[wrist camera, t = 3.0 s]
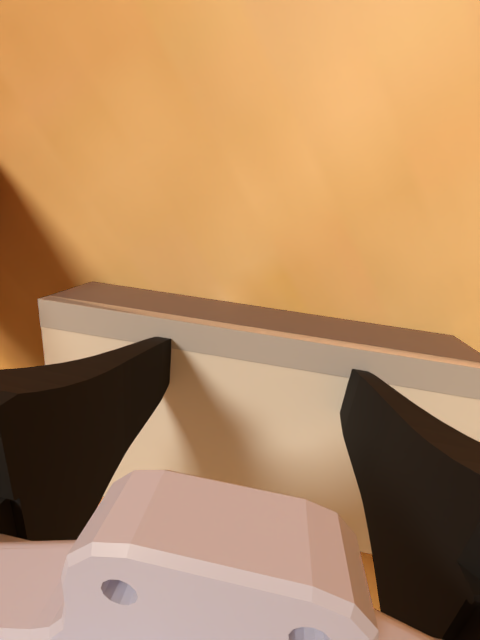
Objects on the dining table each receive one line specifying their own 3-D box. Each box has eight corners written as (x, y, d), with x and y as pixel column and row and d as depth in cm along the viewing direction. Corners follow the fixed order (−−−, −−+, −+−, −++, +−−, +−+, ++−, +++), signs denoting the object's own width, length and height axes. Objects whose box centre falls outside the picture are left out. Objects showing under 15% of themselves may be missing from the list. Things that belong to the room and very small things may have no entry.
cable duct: (391, 492, 17) (414, 547, 14) (100, 435, 18) (68, 474, 16) (453, 335, 14) (498, 365, 11) (92, 281, 15) (49, 295, 12)
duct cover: (415, 551, 14) (422, 566, 13) (65, 477, 15) (56, 487, 15) (498, 365, 11) (511, 373, 10) (49, 295, 12) (37, 298, 12)
